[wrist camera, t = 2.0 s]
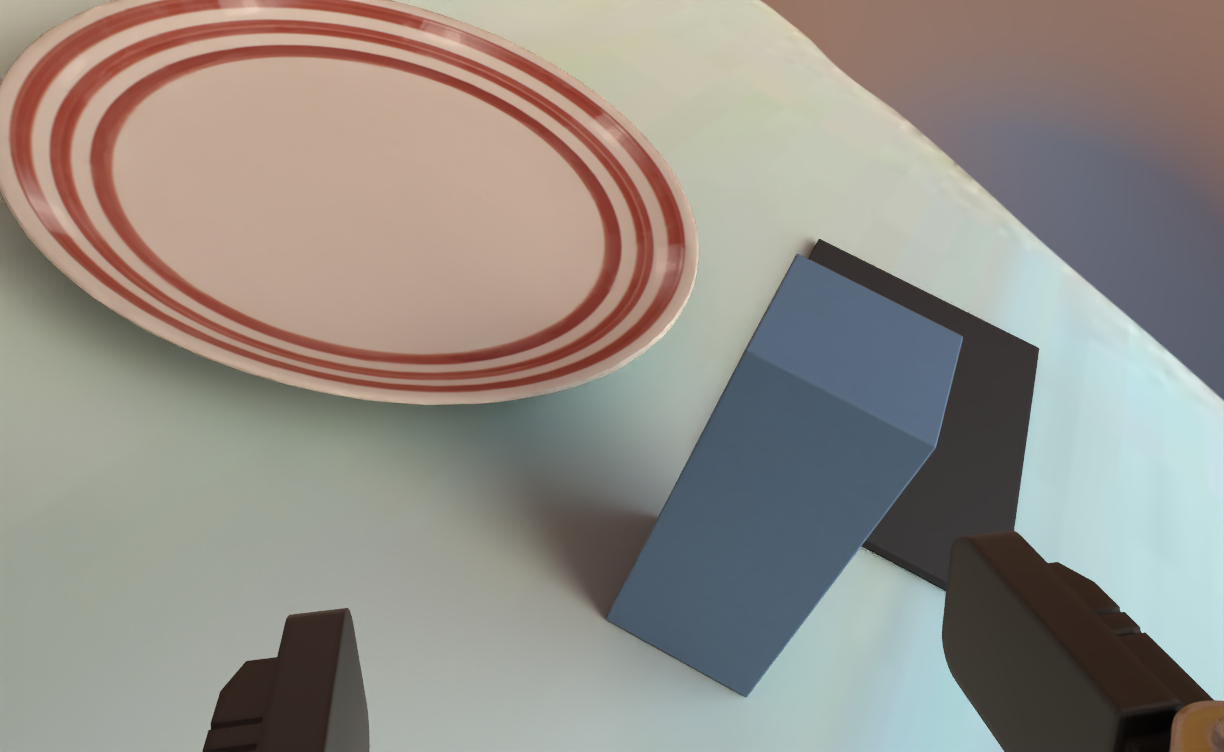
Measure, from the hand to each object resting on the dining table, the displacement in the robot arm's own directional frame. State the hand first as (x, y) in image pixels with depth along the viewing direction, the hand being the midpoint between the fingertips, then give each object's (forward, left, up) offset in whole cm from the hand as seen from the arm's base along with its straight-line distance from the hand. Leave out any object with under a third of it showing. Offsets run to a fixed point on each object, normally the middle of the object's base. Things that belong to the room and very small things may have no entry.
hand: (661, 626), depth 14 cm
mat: (+6, +29, -16) cm, 33 cm away
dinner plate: (-18, +24, -16) cm, 34 cm away
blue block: (+2, +14, -16) cm, 21 cm away
